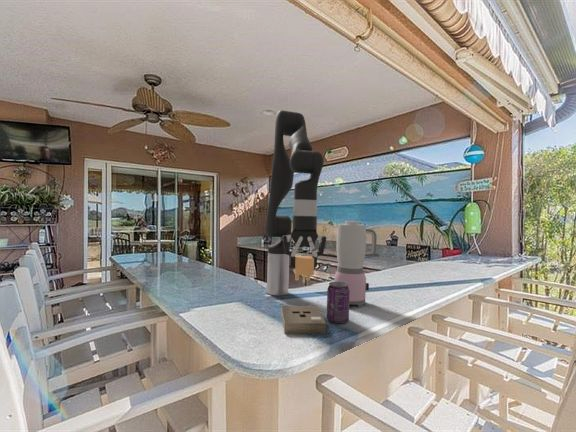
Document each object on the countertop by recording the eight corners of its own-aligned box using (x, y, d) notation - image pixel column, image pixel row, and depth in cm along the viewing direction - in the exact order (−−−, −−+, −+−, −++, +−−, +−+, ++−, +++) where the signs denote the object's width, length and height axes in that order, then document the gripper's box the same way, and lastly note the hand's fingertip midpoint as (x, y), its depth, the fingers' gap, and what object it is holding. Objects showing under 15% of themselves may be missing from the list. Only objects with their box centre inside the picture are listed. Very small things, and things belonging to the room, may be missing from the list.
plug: (293, 278, 97) (293, 255, 96) (310, 279, 97) (311, 255, 97) (295, 283, 91) (295, 258, 90) (313, 283, 91) (314, 258, 91)
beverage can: (333, 315, 102) (334, 280, 102) (352, 320, 98) (353, 283, 98) (322, 320, 97) (323, 283, 97) (341, 326, 92) (343, 287, 92)
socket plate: (281, 314, 101) (281, 303, 101) (316, 314, 102) (316, 304, 102) (284, 333, 86) (284, 321, 85) (325, 333, 86) (326, 321, 86)
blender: (332, 306, 112) (334, 220, 112) (333, 297, 124) (336, 220, 124) (375, 309, 109) (378, 222, 109) (373, 300, 121) (375, 221, 121)
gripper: (325, 215, 98) (323, 266, 98) (281, 214, 97) (279, 266, 97) (330, 215, 90) (328, 271, 91) (282, 214, 89) (281, 270, 89)
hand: (303, 268), depth 94 cm, fingers closed on plug, 5 cm apart
